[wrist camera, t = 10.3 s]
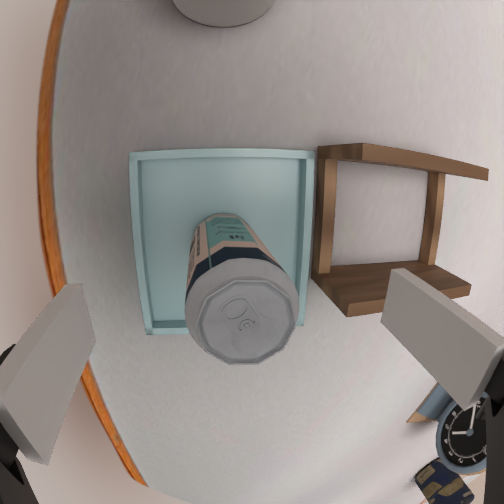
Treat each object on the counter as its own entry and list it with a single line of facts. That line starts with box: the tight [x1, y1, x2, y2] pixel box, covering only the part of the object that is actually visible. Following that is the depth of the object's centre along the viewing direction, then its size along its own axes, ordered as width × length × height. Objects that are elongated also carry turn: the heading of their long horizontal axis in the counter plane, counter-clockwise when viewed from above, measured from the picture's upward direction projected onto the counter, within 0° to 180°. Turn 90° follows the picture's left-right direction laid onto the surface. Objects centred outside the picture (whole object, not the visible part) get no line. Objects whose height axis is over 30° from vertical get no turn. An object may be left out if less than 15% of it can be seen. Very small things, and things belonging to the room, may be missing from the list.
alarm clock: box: [407, 382, 488, 476], centre depth 28 cm, size 14×10×18 cm
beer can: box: [184, 213, 299, 365], centre depth 17 cm, size 5×5×12 cm
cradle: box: [311, 143, 489, 317], centre depth 21 cm, size 11×13×7 cm
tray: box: [129, 148, 315, 335], centre depth 22 cm, size 14×13×2 cm
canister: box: [415, 459, 474, 504], centre depth 39 cm, size 10×10×18 cm
